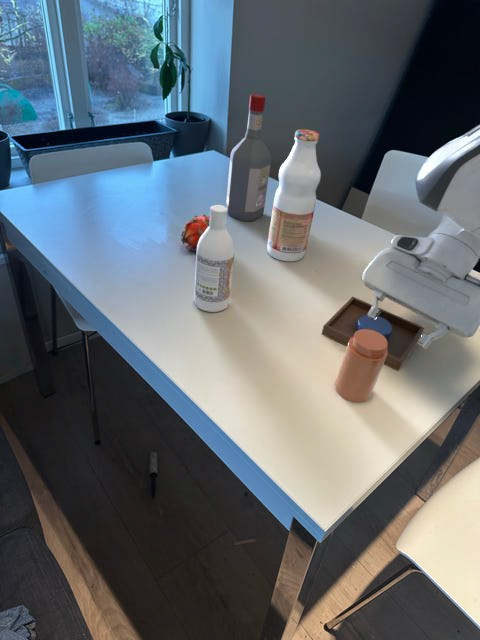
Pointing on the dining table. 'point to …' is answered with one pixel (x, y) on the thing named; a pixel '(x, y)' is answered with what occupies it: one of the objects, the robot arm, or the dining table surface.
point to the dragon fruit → (194, 231)
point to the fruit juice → (295, 199)
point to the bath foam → (214, 263)
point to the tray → (402, 329)
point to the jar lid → (375, 325)
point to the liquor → (249, 168)
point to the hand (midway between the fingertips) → (395, 331)
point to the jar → (361, 365)
